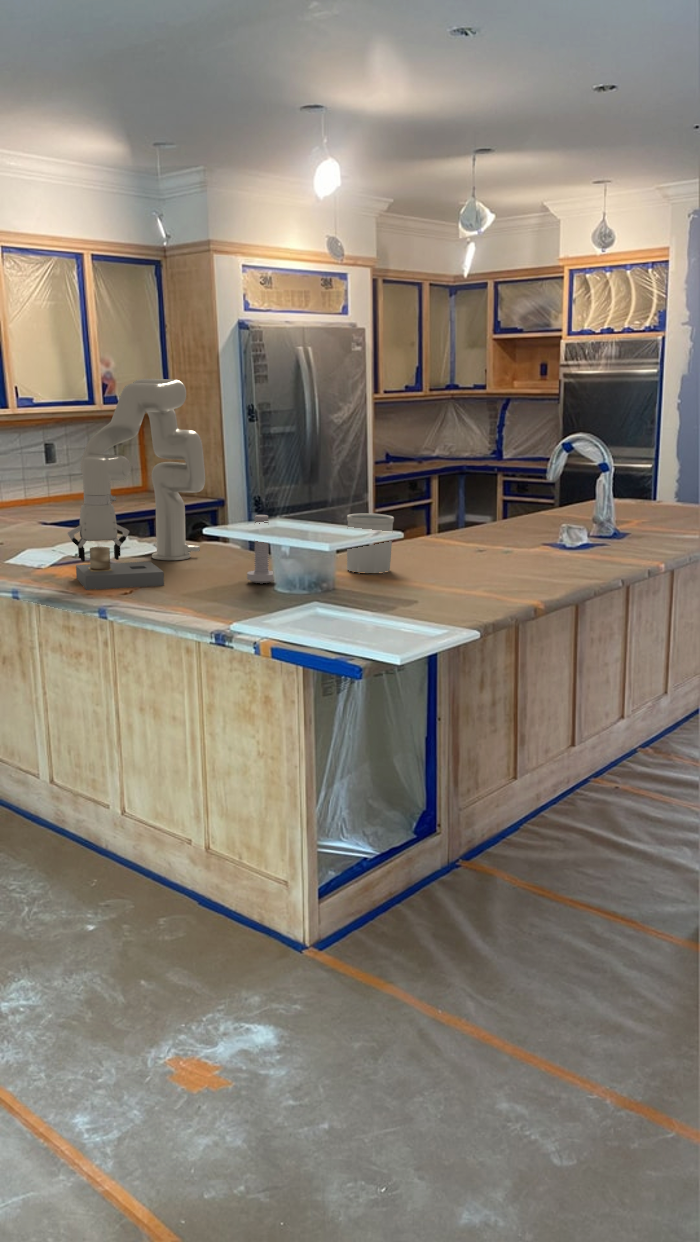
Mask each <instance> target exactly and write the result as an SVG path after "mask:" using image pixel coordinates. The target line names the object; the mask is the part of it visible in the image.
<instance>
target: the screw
mask: <svg viewBox="0 0 700 1242" xmlns="http://www.w3.org/2000/svg"><path fill="white" fill-rule="evenodd" d="M253 521H254V524H255V523H256V522H264V521H268V522H264V523H268V524H270V522H269V515H267V514H257V515H254V520H253ZM259 524H260V523H259ZM269 547H270V546H269V543H264V542H258V541H255V540H254V570H250V571H247V572H246V575H247V576H246V579H247V580H249V581H250V582H252V583H254V584H257V583H260V584H259V585H264V584H263V583H266V584H268V583H271V582H273V581H274V580H273V570H269V566H270V565H269V561H270V559H269V558H270V557H269Z"/></svg>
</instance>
